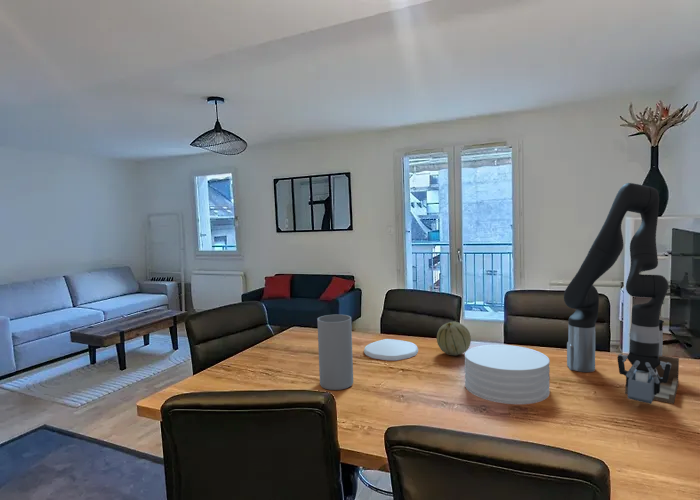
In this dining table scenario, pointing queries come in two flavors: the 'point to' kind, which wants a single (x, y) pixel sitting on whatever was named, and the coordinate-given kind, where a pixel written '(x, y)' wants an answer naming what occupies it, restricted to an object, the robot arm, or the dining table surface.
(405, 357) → the decorative plate
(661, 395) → the shelf
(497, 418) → the dining table surface
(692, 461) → the dining table surface
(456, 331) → the cantaloupe
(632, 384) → the caddy
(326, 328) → the cylinder vase
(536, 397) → the plate stack
